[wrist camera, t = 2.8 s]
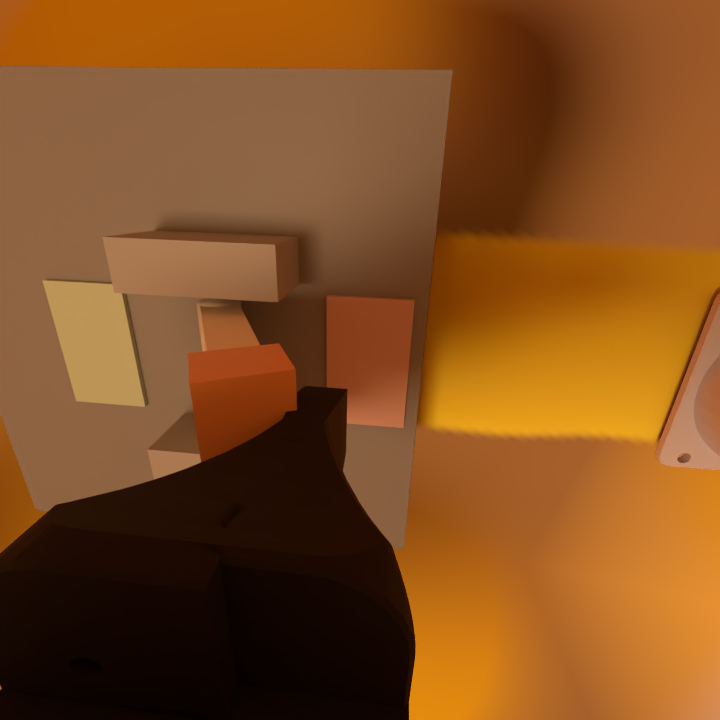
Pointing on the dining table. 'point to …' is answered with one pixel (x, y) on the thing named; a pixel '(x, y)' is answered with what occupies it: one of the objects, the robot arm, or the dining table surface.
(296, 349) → the panel
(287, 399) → the toggle lever
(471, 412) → the dining table surface
